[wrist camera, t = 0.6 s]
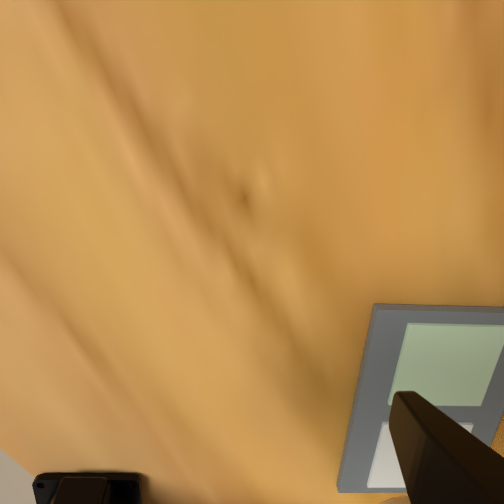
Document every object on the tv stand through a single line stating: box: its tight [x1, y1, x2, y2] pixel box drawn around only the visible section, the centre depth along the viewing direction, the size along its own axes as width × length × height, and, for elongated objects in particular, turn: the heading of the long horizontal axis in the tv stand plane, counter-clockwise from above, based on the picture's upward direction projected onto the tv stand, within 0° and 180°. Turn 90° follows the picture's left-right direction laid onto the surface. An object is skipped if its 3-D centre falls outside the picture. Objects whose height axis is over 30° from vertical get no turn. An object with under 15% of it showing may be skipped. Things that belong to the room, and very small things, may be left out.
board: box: [337, 304, 504, 493], centre depth 25 cm, size 14×9×1 cm, turn 177°
